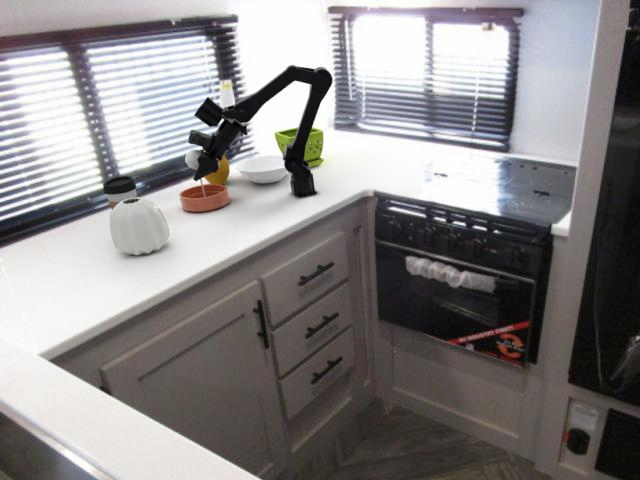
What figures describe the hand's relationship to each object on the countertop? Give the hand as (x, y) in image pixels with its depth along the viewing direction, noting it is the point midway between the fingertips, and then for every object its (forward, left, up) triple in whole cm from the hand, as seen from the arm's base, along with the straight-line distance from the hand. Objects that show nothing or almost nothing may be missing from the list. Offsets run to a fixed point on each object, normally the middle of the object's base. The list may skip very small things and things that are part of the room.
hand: (195, 177), depth 175 cm
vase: (+21, +25, -9) cm, 34 cm away
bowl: (-25, -11, -9) cm, 29 cm away
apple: (-10, -20, -9) cm, 24 cm away
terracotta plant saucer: (-1, 0, -9) cm, 9 cm away
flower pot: (-42, -21, -9) cm, 48 cm away
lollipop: (-1, 0, -7) cm, 7 cm away
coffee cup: (+22, +9, -9) cm, 25 cm away
